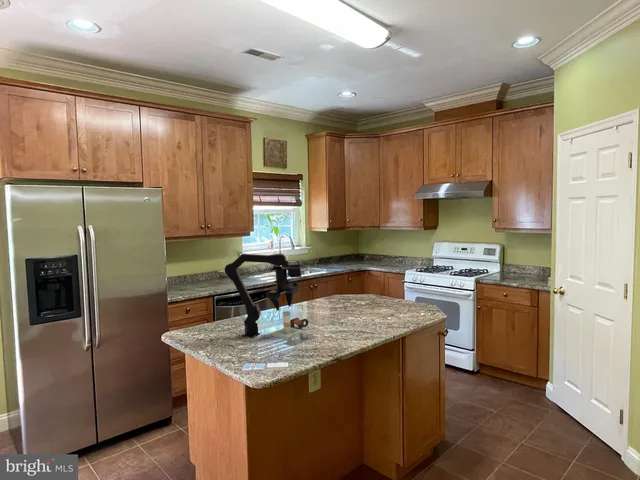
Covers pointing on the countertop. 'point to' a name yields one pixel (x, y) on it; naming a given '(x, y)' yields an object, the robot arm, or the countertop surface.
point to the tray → (278, 334)
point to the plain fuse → (305, 332)
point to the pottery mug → (299, 323)
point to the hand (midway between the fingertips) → (283, 308)
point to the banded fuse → (287, 322)
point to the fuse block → (298, 339)
